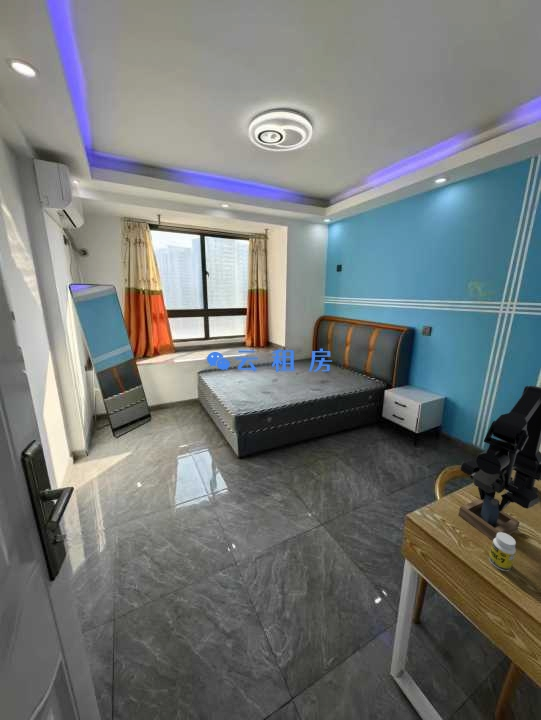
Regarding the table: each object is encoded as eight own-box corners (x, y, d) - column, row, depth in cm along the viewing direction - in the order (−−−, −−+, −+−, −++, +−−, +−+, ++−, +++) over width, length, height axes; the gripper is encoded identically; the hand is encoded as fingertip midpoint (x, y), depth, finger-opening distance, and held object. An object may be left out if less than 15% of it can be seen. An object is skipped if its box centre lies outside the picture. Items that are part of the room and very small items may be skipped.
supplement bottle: (484, 558, 79) (490, 533, 77) (495, 552, 81) (502, 528, 78) (503, 574, 75) (510, 548, 72) (515, 568, 76) (522, 542, 74)
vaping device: (487, 513, 93) (494, 481, 90) (497, 526, 88) (505, 493, 85) (478, 513, 93) (485, 481, 90) (488, 526, 88) (496, 492, 85)
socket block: (480, 505, 98) (481, 497, 97) (517, 529, 88) (519, 521, 87) (458, 515, 94) (459, 507, 93) (495, 542, 84) (497, 533, 83)
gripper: (452, 450, 90) (445, 492, 94) (522, 488, 74) (509, 537, 78) (475, 442, 95) (467, 483, 99) (546, 477, 78) (533, 524, 82)
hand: (491, 504), depth 89 cm, fingers closed on vaping device, 5 cm apart
